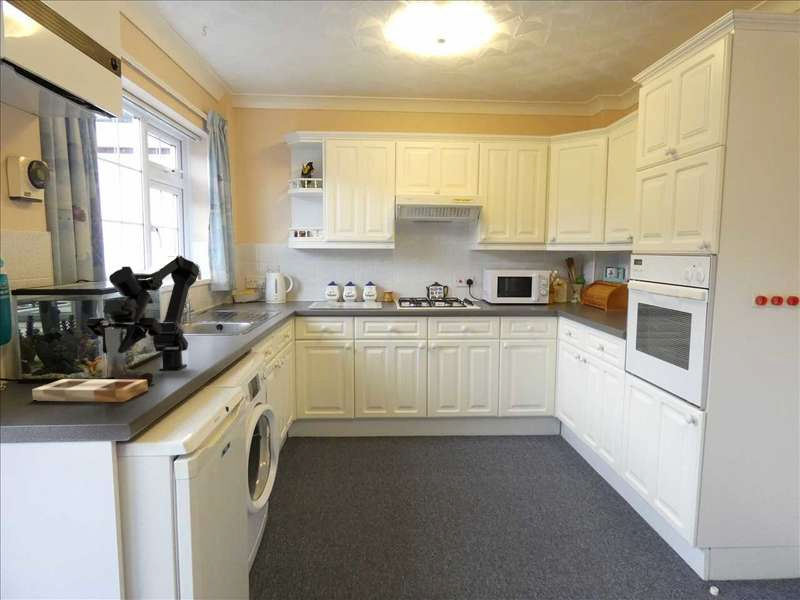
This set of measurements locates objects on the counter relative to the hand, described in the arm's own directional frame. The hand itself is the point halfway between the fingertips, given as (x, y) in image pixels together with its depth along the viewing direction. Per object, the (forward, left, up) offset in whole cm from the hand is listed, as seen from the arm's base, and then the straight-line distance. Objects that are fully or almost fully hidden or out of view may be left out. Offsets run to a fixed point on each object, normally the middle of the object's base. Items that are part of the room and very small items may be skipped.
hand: (112, 352), depth 116 cm
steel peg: (-1, 0, -7) cm, 7 cm away
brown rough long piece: (-15, -7, -13) cm, 21 cm away
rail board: (-1, -8, -12) cm, 14 cm away
